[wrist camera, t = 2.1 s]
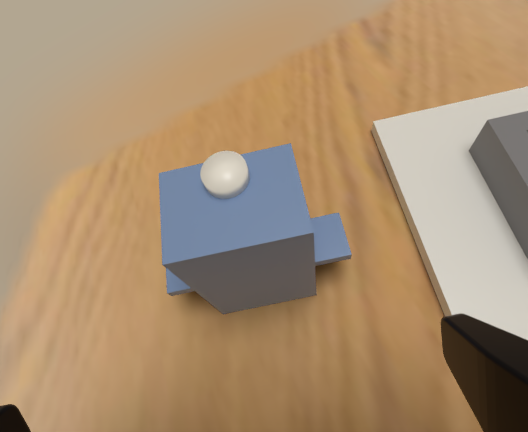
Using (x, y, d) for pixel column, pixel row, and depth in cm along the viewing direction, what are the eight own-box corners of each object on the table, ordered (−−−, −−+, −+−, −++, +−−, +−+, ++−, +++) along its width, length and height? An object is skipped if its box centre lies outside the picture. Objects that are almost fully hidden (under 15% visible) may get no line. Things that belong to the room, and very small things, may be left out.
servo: (333, 225, 22) (340, 121, 14) (350, 287, 20) (372, 212, 12) (185, 257, 23) (104, 176, 14) (189, 320, 21) (100, 271, 12)
